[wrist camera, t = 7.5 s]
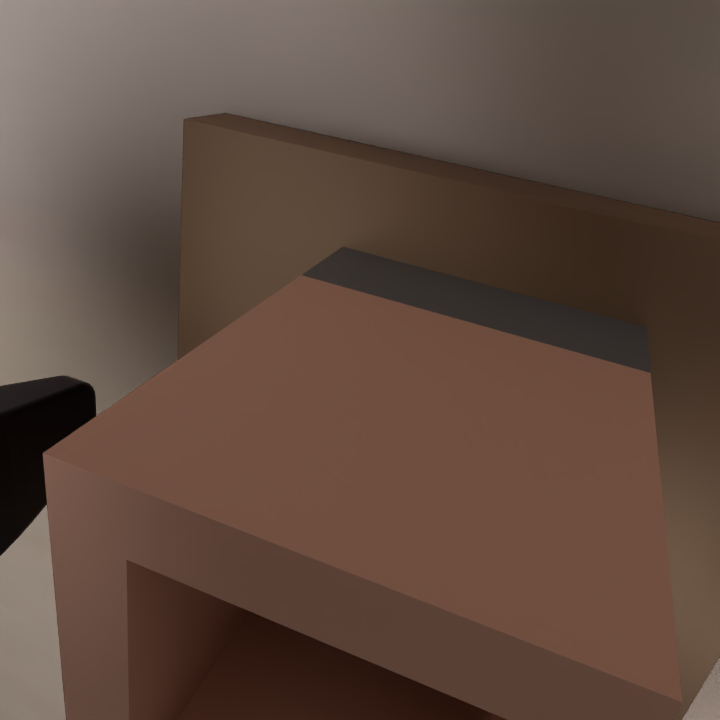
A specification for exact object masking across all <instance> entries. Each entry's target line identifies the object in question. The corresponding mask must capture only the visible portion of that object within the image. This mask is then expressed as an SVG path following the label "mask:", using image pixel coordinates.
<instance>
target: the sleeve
mask: <svg viewBox="0 0 720 720" xmlns="http://www.w3.org/2000/svg"><path fill="white" fill-rule="evenodd" d="M43 463H44V474H45V486H46V497H47V508H48V520H49V531H50V543H51V554H52V565H53V577H54V588H55V600H56V611H57V622H58V634H59V645H60V657H61V668H62V679H63V691H64V702H65V714H66V720H672V719H673V717H674V715H675V714H676V712H677V710H678V709H679V707H680V705H681V704H682V695H681V684H680V674H679V664H678V653H677V643H676V632H675V622H674V612H673V601H672V591H671V580H670V570H669V560H668V549H667V539H666V528H665V518H664V508H663V497H662V487H661V476H660V466H659V456H658V445H657V435H656V424H655V414H654V404H653V393H652V383H651V372H650V362H649V352H648V341H647V331H646V327H644V326H641V325H637V324H633V323H629V322H625V321H622V320H618V319H614V318H610V317H607V316H603V315H599V314H595V313H591V312H588V311H584V310H580V309H576V308H573V307H569V306H565V305H561V304H558V303H554V302H550V301H546V300H542V299H539V298H535V297H531V296H527V295H524V294H520V293H516V292H512V291H508V290H505V289H501V288H497V287H493V286H490V285H486V284H482V283H478V282H474V281H471V280H467V279H463V278H459V277H456V276H452V275H448V274H444V273H441V272H437V271H433V270H429V269H425V268H422V267H418V266H414V265H410V264H407V263H403V262H399V261H395V260H391V259H388V258H384V257H380V256H376V255H373V254H369V253H365V252H361V251H357V250H354V249H350V248H346V247H341V248H340V249H338V250H337V251H336V252H334V253H333V254H331V255H330V256H328V257H327V258H325V259H324V260H322V261H321V262H320V263H318V264H317V265H315V266H314V267H312V268H311V269H309V270H308V271H306V272H305V273H304V274H302V275H301V276H299V277H298V278H296V279H295V280H293V281H292V282H291V283H289V284H288V285H286V286H285V287H283V288H282V289H280V290H279V291H277V292H276V293H275V294H273V295H272V296H270V297H269V298H267V299H266V300H264V301H263V302H262V303H260V304H259V305H257V306H256V307H254V308H253V309H251V310H250V311H248V312H247V313H246V314H244V315H243V316H241V317H240V318H238V319H237V320H235V321H234V322H232V323H231V324H230V325H228V326H227V327H225V328H224V329H222V330H221V331H219V332H218V333H217V334H215V335H214V336H212V337H211V338H209V339H208V340H206V341H205V342H203V343H202V344H201V345H199V346H198V347H196V348H195V349H193V350H192V351H190V352H189V353H187V354H186V355H185V356H183V357H182V358H180V359H179V360H177V361H176V362H174V363H173V364H172V365H170V366H169V367H167V368H166V369H164V370H163V371H161V372H160V373H158V374H157V375H156V376H154V377H153V378H151V379H150V380H148V381H147V382H145V383H144V384H143V385H141V386H140V387H138V388H137V389H135V390H134V391H132V392H131V393H129V394H128V395H127V396H125V397H124V398H122V399H121V400H119V401H118V402H116V403H115V404H113V405H112V406H111V407H109V408H108V409H106V410H105V411H103V412H102V413H100V414H99V415H98V416H96V417H95V418H93V419H92V420H90V421H89V422H87V423H86V424H84V425H83V426H82V427H80V428H79V429H77V430H76V431H74V432H73V433H71V434H70V435H69V436H67V437H66V438H64V439H63V440H61V441H60V442H58V443H57V444H55V445H54V446H53V447H51V448H50V449H48V450H47V451H45V452H44V453H43Z"/></svg>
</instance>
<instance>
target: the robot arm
mask: <svg viewBox="0 0 720 720" xmlns="http://www.w3.org/2000/svg"><path fill="white" fill-rule="evenodd" d="M95 417H96V397H95V391H94V389H93V387H92V386H91V385H90V384H88V383H86V382H84V381H81V380H78V379H75V378H72V377H69V376H56V377H50V378H44V379H39V380H33V381H27V382H21V383H15V384H9V385H4V386H0V556H1V555H2V554H3V553H4V552H5V551H6V550H7V549H8V548H9V547H10V546H11V545H12V543H13V542H14V541H15V540H16V539H17V538H18V537H19V536H20V535H21V534H22V533H23V532H24V530H25V529H26V528H27V527H28V526H29V525H30V524H31V523H32V521H33V520H34V519H35V518H36V517H37V515H38V514H39V513H40V512H41V511H42V509H43V508H44V507H45V506H46V505H47V497H46V486H45V474H44V463H43V453H44V452H45V451H47V450H48V449H50V448H51V447H53V446H54V445H55V444H57V443H58V442H60V441H61V440H63V439H64V438H66V437H67V436H69V435H70V434H71V433H73V432H74V431H76V430H77V429H79V428H80V427H82V426H83V425H84V424H86V423H87V422H89V421H90V420H92V419H93V418H95Z"/></svg>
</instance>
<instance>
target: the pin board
mask: <svg viewBox="0 0 720 720" xmlns="http://www.w3.org/2000/svg"><path fill="white" fill-rule="evenodd" d="M341 247H346V248H350V249H354V250H357V251H361V252H365V253H369V254H373V255H376V256H380V257H384V258H388V259H391V260H395V261H399V262H403V263H407V264H410V265H414V266H418V267H422V268H425V269H429V270H433V271H437V272H441V273H444V274H448V275H452V276H456V277H459V278H463V279H467V280H471V281H474V282H478V283H482V284H486V285H490V286H493V287H497V288H501V289H505V290H508V291H512V292H516V293H520V294H524V295H527V296H531V297H535V298H539V299H542V300H546V301H550V302H554V303H558V304H561V305H565V306H569V307H573V308H576V309H580V310H584V311H588V312H591V313H595V314H599V315H603V316H607V317H610V318H614V319H618V320H622V321H625V322H629V323H633V324H637V325H641V326H644V327H646V331H647V341H648V352H649V362H650V372H651V383H652V393H653V404H654V414H655V424H656V435H657V445H658V456H659V466H660V476H661V487H662V497H663V508H664V518H665V528H666V539H667V549H668V560H669V570H670V580H671V591H672V601H673V612H674V622H675V632H676V643H677V653H678V664H679V674H680V684H681V695H682V704H681V705H680V707H679V709H678V710H677V712H676V714H675V715H674V717H673V719H672V720H682V719H683V717H684V715H685V714H686V712H687V710H688V709H689V707H690V705H691V704H692V702H693V700H694V699H695V697H696V695H697V694H698V692H699V690H700V689H701V687H702V685H703V684H704V682H705V680H706V679H707V677H708V675H709V674H710V672H711V670H712V669H713V667H714V665H715V664H716V662H717V660H718V659H719V657H720V223H717V222H713V221H708V220H704V219H699V218H695V217H690V216H686V215H681V214H677V213H672V212H668V211H663V210H659V209H654V208H650V207H645V206H641V205H636V204H632V203H627V202H623V201H618V200H614V199H609V198H605V197H600V196H596V195H591V194H587V193H582V192H578V191H573V190H569V189H564V188H560V187H555V186H551V185H546V184H542V183H537V182H533V181H528V180H524V179H519V178H515V177H510V176H506V175H501V174H497V173H492V172H488V171H483V170H479V169H474V168H470V167H465V166H461V165H456V164H452V163H447V162H443V161H438V160H434V159H429V158H425V157H420V156H416V155H411V154H407V153H402V152H398V151H393V150H389V149H384V148H380V147H375V146H371V145H366V144H362V143H357V142H353V141H348V140H344V139H339V138H335V137H330V136H326V135H321V134H317V133H312V132H308V131H303V130H299V129H294V128H290V127H285V126H281V125H276V124H272V123H267V122H263V121H258V120H254V119H249V118H245V117H240V116H236V115H231V114H227V113H222V114H215V115H208V116H201V117H194V118H187V119H184V129H183V168H182V207H181V247H180V286H179V325H178V360H179V359H180V358H182V357H183V356H185V355H186V354H187V353H189V352H190V351H192V350H193V349H195V348H196V347H198V346H199V345H201V344H202V343H203V342H205V341H206V340H208V339H209V338H211V337H212V336H214V335H215V334H217V333H218V332H219V331H221V330H222V329H224V328H225V327H227V326H228V325H230V324H231V323H232V322H234V321H235V320H237V319H238V318H240V317H241V316H243V315H244V314H246V313H247V312H248V311H250V310H251V309H253V308H254V307H256V306H257V305H259V304H260V303H262V302H263V301H264V300H266V299H267V298H269V297H270V296H272V295H273V294H275V293H276V292H277V291H279V290H280V289H282V288H283V287H285V286H286V285H288V284H289V283H291V282H292V281H293V280H295V279H296V278H298V277H299V276H301V275H302V274H304V273H305V272H306V271H308V270H309V269H311V268H312V267H314V266H315V265H317V264H318V263H320V262H321V261H322V260H324V259H325V258H327V257H328V256H330V255H331V254H333V253H334V252H336V251H337V250H338V249H340V248H341Z"/></svg>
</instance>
